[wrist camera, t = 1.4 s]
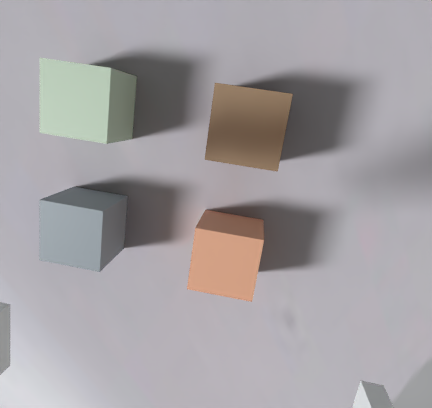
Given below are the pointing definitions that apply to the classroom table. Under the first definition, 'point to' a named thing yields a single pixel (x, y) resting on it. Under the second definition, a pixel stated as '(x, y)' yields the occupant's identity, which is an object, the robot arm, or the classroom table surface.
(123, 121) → the sage block
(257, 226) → the terracotta block
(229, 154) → the walnut block
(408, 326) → the classroom table surface
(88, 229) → the slate block
